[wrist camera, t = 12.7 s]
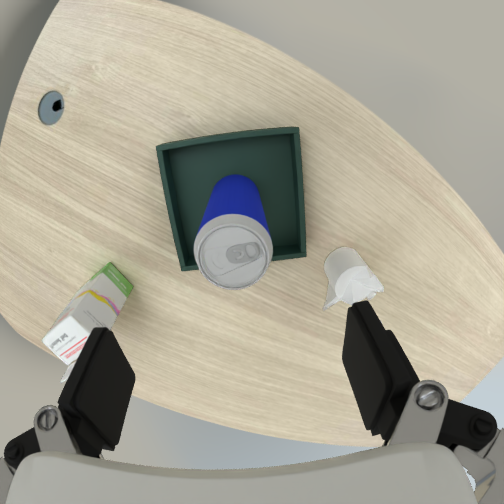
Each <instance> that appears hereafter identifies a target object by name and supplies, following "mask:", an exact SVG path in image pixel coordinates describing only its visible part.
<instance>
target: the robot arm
mask: <svg viewBox="0 0 504 504" xmlns="http://www.w3.org/2000/svg"><path fill="white" fill-rule="evenodd" d="M342 360H343V364H344V367H345V370H346V373H347V375H348V378H349V381H350V384H351V387H352V390H353V392H354V395H355V398H356V401H357V404H358V407H359V410H360V413H361V416H362V419H363V422H364V425H365V428H366V430H371V433H372V436H374V435H378V434H381V437H382V439H383V440H385V441H384V443H383V445H382V447H378V448H374V449H370V450H365V451H360V452H356V453H352V454H348V455H343V456H338V457H333V458H328V459H322V460H316V461H311V462H305V463H298V464H291V465H283V466H274V467H263V468H249V469H224V470H201V469H177V468H163V467H152V466H143V465H135V464H128V463H122V462H116V461H110V460H105V459H104V458H103V456H102V454H101V451H102V449H105V450H110V451H114V449H115V445H117V444H118V443H119V440H120V436H121V431H122V427H123V424H124V419H125V416H126V412H127V408H128V405H129V401H130V397H131V394H132V390H133V387H134V383H135V373H134V371H133V370H132V368H131V366H130V364H129V362H128V361H127V359H126V357H125V355H124V353H123V351H122V349H121V348H120V346H119V344H118V342H117V340H116V338H115V336H114V334H113V332H112V331H110V330H109V329H108V328H107V327H95V328H93V329H92V331H91V333H90V335H89V337H88V339H87V341H86V343H85V345H84V347H83V349H82V351H81V353H80V355H79V357H78V359H77V361H76V363H75V365H74V367H73V369H72V371H71V373H70V375H69V377H68V380H67V382H66V384H65V386H64V388H63V391H62V393H61V395H60V397H59V400H58V404H59V406H58V408H57V407H56V406H53V405H47V406H44V407H42V408H41V409H40V410H39V411H38V412H37V413H36V415H35V418H34V427H33V428H31V429H30V430H28V431H26V432H25V433H23V434H21V435H19V436H18V437H16V438H14V439H12V440H11V441H10V442H9V443H8V444H7V445H6V447H5V450H4V457H5V458H3V457H1V458H0V504H504V429H503V428H502V429H501V430H499V429H498V428H497V423H496V420H495V418H494V417H493V416H492V415H491V414H490V413H489V412H486V411H484V410H480V409H477V408H474V407H471V406H468V405H465V404H462V403H459V402H456V401H453V400H450V399H448V393H447V390H446V389H445V387H444V386H443V385H442V384H440V383H439V382H436V381H433V380H423V381H421V382H420V380H419V378H418V376H417V375H416V373H415V371H414V369H413V367H412V365H411V363H410V362H409V360H408V358H407V356H406V354H405V353H404V351H403V349H402V347H401V346H400V344H399V342H398V340H397V339H396V337H395V335H394V334H393V332H392V331H391V330H385V328H384V327H383V325H382V323H381V322H380V320H379V318H378V316H377V315H376V313H375V311H374V310H373V308H372V306H371V305H370V303H369V302H368V301H361V302H355V303H353V304H352V307H349V308H348V313H347V322H346V330H345V338H344V345H343V352H342ZM462 466H463V467H465V468H466V469H467V470H468V471H467V473H468V474H470V475H471V476H472V477H473V478H474V479H475V483H476V488H475V491H473V489H472V486H471V483H470V481H469V479H468V477H467V475H466V473H465V470H464V469H463V467H462Z"/></svg>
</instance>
